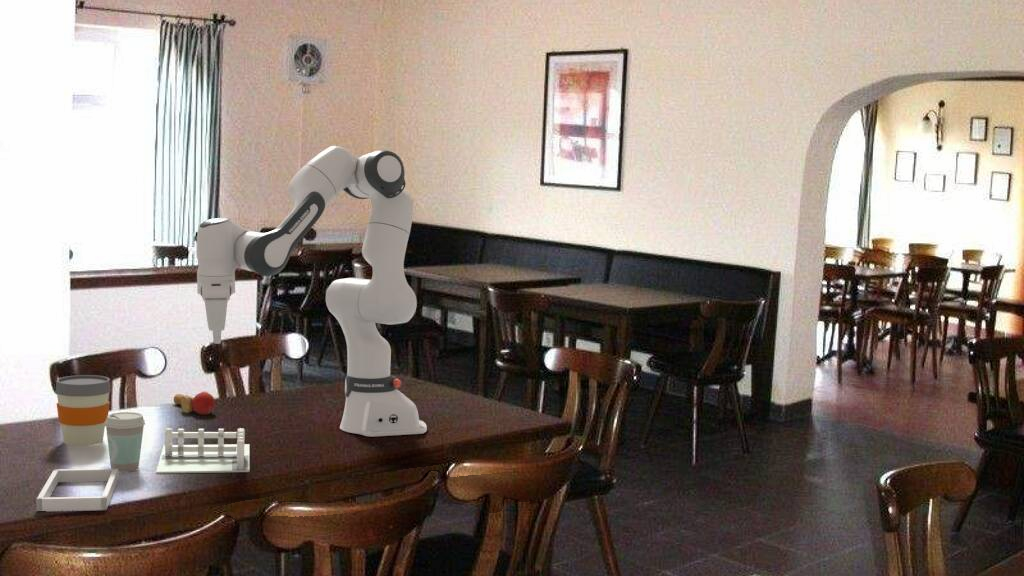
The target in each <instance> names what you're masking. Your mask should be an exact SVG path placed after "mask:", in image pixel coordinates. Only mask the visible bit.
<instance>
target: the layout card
mask: <svg viewBox="0 0 1024 576" xmlns="http://www.w3.org/2000/svg"><path fill="white" fill-rule="evenodd" d="M172 446H178V444H172ZM184 446H198V444H184ZM204 446H218V443H217V444H204ZM224 446H237V443H234V444H233V443H231V444H228V443H226V444H225V443H224ZM203 473H204V474H206V473H207V474H209V473H211V474H213V473H215V474H216V473H219V474H220V473H250V443H248V444H247V443H244V469H242V470H238V469H237V449H236V452H224V455H218V452H204V455H198V452H184V455H178V452H172V455H170V456H167V455H165V444H163V446H162V450H161V453H160V457H159V461H158V464H157V467H156V471H155V474H160V475H161V474H203Z"/></svg>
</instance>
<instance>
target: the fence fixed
mask: <svg viewBox="0 0 1024 576" xmlns="http://www.w3.org/2000/svg"><path fill="white" fill-rule="evenodd" d="M236 432H237V438H236V444H237V469H238V470H242V469H244V444H245V440H244V436H245V437H246V432H245V431H244V430H238V429H237V431H236Z"/></svg>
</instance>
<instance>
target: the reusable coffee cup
mask: <svg viewBox="0 0 1024 576" xmlns="http://www.w3.org/2000/svg"><path fill="white" fill-rule="evenodd" d="M55 383H56V384H55V394H56V396H57V402H56V409H57V417H58V423H59V424H60V425H61V433H62V439H63V441H62V442H63V444H64V445H68V446H74V447H83V446H85V447H86V446H93V445H94V446H95V445H97V444H101V443H103V442H104V436H105V430H106V428H105V427H106V426H105V421H106V419H107V416H108V415H109V411H110V401H109V398H110V397H109V396H110V393H111V392H112V389H111V388H112V387H111V380H110V378H109V377H107V376H104V375H96V374H95V375H92V374H91V375H90V374H81V375H80V374H79V375H70V376H69V375H68V376H63V377H58V378H57V379H56V382H55Z"/></svg>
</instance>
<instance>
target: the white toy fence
mask: <svg viewBox="0 0 1024 576" xmlns="http://www.w3.org/2000/svg"><path fill="white" fill-rule="evenodd" d="M238 430H244V431H245V428H241V427H239V428H237V431H238ZM237 431H225V428H218V430H217V431H205V428H198V430H197V431H185V428H178V429H177V431H173V428H172V427H171V428H165V429H164V437H165V438H164V445H165V455H167V456H170V455H172V452H178V455H184V452H198V455H204V452H218V455H224V452H236V449H237V446H224V444H225V439H237ZM173 439H177V445H178V446H172V445H173ZM185 439H197V445H198V446H184V445H185V444H184V443H185ZM205 439H217V444H218V446H204V445H205ZM245 439H246V435H245V436H244V441H245Z"/></svg>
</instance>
